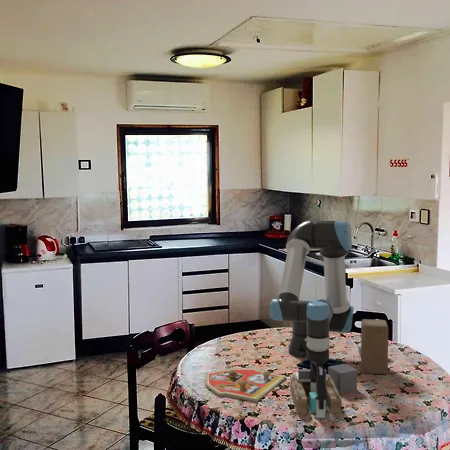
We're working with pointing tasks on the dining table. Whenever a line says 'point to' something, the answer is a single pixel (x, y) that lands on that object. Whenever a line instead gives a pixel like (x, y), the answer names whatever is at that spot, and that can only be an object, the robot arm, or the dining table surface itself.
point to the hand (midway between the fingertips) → (317, 408)
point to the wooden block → (374, 346)
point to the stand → (343, 377)
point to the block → (313, 402)
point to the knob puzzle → (242, 383)
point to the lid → (305, 376)
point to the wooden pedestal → (302, 396)
